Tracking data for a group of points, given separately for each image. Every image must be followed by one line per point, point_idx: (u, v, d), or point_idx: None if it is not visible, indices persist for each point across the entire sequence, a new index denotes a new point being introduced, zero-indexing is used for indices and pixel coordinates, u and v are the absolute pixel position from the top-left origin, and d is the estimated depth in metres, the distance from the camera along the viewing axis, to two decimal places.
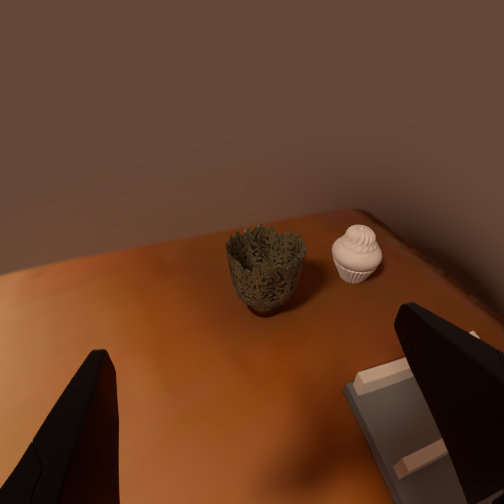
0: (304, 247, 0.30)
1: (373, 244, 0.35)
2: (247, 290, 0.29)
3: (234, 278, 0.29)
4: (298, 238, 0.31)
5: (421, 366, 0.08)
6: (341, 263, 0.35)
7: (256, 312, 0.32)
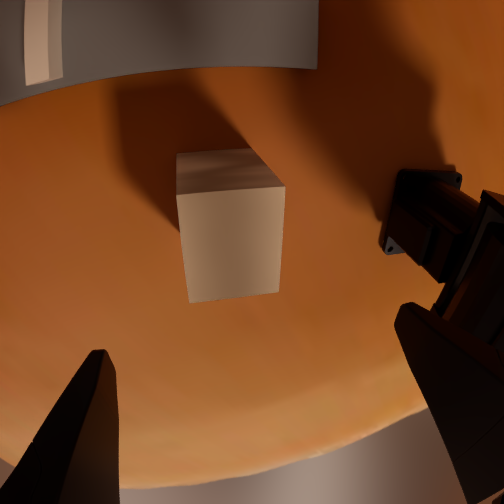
0: None
1: None
2: None
3: None
4: None
5: (421, 366, 0.08)
6: None
7: None
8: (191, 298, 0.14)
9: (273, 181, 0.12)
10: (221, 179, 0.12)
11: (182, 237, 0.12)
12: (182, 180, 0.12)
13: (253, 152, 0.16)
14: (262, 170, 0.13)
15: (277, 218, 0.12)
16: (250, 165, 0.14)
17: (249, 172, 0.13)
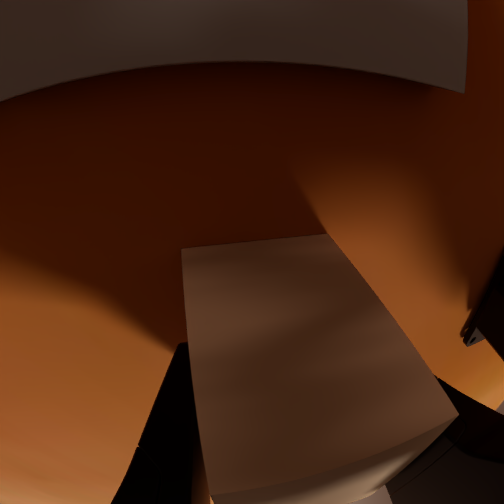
0: None
1: None
2: None
3: None
4: None
5: None
6: None
7: None
8: None
9: (430, 394, 0.04)
10: (314, 398, 0.04)
11: None
12: (210, 401, 0.04)
13: (339, 252, 0.08)
14: (388, 337, 0.06)
15: (417, 452, 0.05)
16: (355, 312, 0.06)
17: (366, 353, 0.05)
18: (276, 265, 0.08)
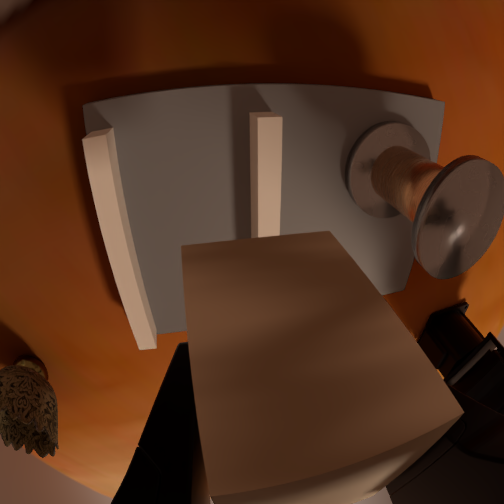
0: None
1: None
2: None
3: None
4: None
5: None
6: None
7: (47, 379, 0.23)
8: None
9: (435, 392, 0.04)
10: (317, 395, 0.04)
11: None
12: (210, 400, 0.04)
13: (341, 249, 0.08)
14: (392, 334, 0.05)
15: (421, 451, 0.04)
16: (358, 309, 0.06)
17: (370, 351, 0.05)
18: (277, 262, 0.07)
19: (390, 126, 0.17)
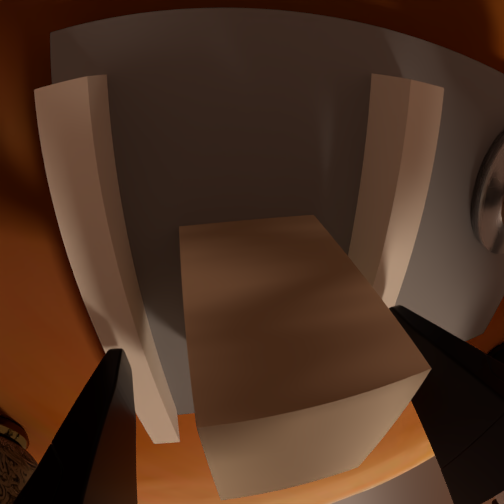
0: None
1: None
2: None
3: None
4: None
5: None
6: None
7: (28, 445, 0.15)
8: (224, 497, 0.07)
9: (403, 349, 0.05)
10: (293, 346, 0.05)
11: (212, 465, 0.05)
12: (200, 347, 0.05)
13: (323, 230, 0.09)
14: (365, 300, 0.06)
15: (396, 410, 0.05)
16: (334, 278, 0.07)
17: (343, 312, 0.06)
18: (264, 239, 0.08)
19: None
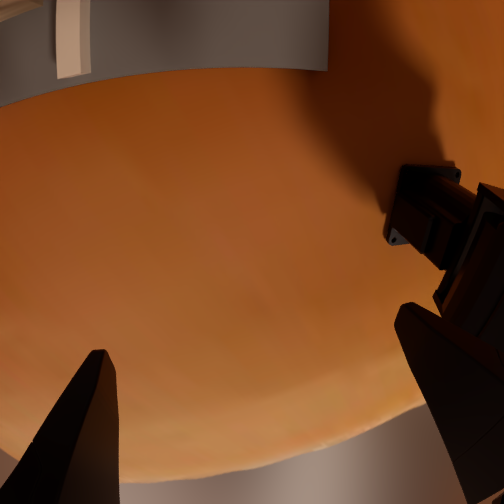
0: None
1: None
2: None
3: None
4: None
5: (421, 366, 0.08)
6: None
7: None
8: None
9: None
10: None
11: None
12: None
13: None
14: None
15: None
16: None
17: None
18: None
19: None
